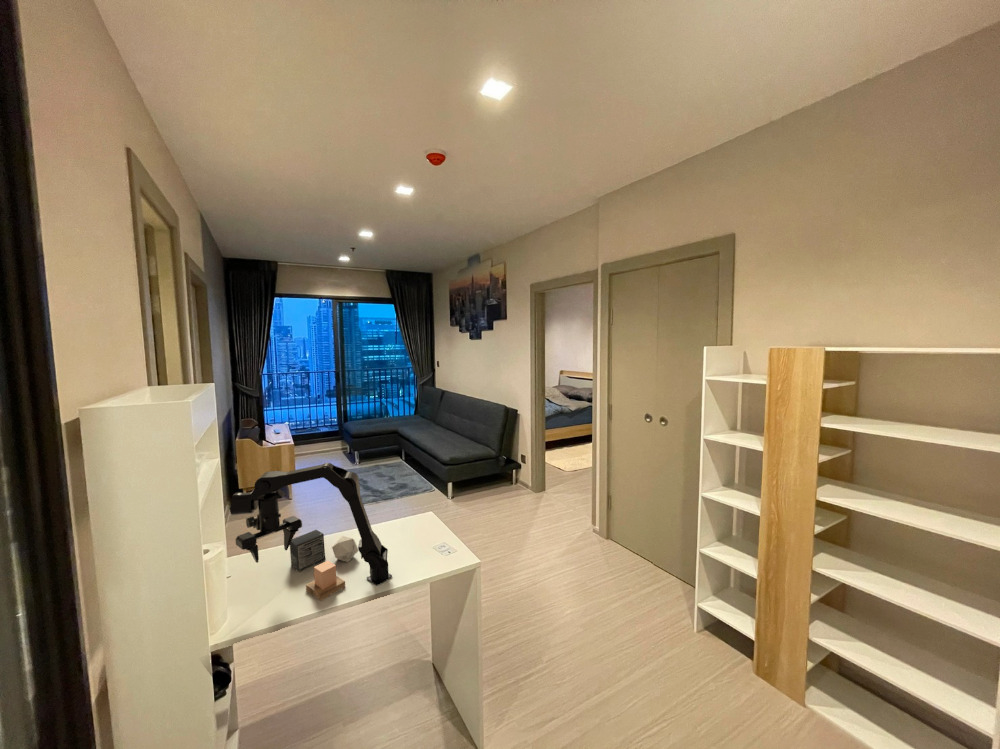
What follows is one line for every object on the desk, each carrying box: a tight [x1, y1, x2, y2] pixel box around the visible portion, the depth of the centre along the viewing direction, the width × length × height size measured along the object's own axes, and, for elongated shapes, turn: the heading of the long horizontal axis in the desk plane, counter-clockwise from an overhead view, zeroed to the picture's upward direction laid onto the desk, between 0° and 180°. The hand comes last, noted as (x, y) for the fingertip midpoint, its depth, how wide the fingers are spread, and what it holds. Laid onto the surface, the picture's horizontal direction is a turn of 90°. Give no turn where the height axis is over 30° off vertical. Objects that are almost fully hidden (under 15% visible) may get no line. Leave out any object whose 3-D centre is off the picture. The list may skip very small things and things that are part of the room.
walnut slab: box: [305, 575, 346, 601], centre depth 137 cm, size 9×9×2 cm
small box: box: [289, 529, 327, 573], centre depth 152 cm, size 11×6×10 cm, turn 141°
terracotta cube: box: [313, 560, 337, 589], centre depth 137 cm, size 5×5×6 cm
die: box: [331, 535, 359, 563], centre depth 155 cm, size 8×9×10 cm
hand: (271, 555), depth 134 cm, fingers open, 9 cm apart
